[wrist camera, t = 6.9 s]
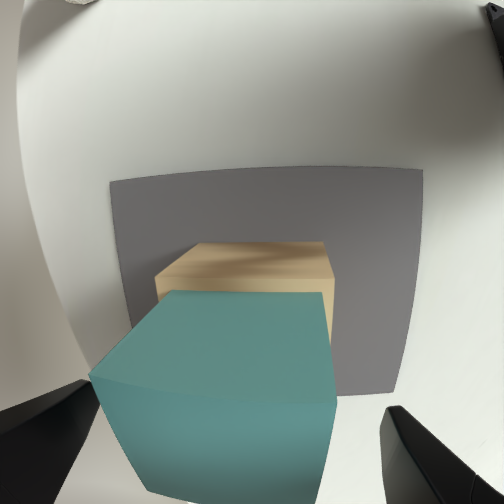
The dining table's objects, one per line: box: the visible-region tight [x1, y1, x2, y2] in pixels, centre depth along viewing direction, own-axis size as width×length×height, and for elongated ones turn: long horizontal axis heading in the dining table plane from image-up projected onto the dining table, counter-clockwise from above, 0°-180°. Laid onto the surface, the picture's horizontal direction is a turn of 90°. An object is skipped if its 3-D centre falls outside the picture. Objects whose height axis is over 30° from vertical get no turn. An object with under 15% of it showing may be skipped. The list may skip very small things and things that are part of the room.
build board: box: [110, 166, 423, 396], centre depth 15 cm, size 16×13×1 cm
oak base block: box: [155, 242, 335, 344], centre depth 13 cm, size 6×6×5 cm
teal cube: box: [88, 290, 337, 504], centre depth 8 cm, size 5×5×5 cm
